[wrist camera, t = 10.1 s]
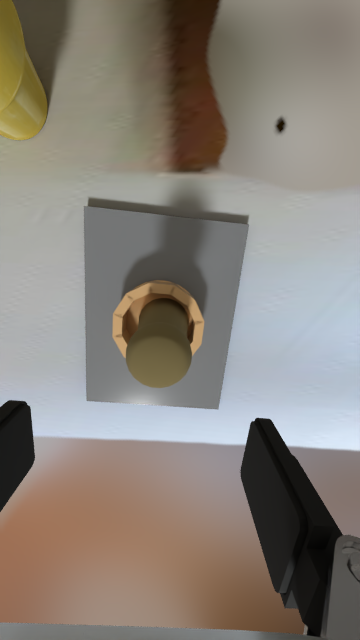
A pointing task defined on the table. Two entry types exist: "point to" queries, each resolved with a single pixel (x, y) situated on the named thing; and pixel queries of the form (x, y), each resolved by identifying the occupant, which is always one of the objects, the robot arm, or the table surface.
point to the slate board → (159, 264)
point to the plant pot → (18, 81)
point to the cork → (160, 344)
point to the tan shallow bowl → (143, 294)
